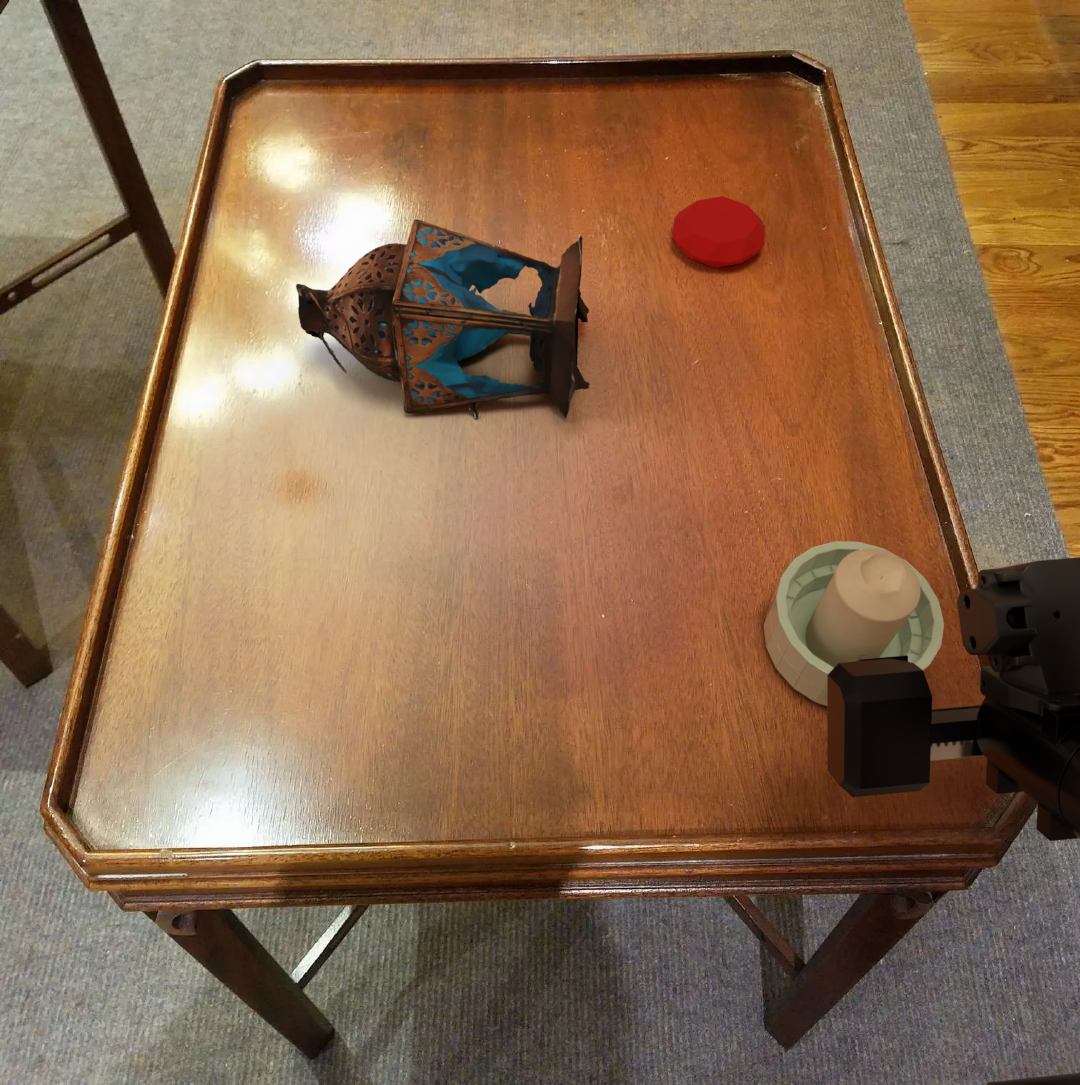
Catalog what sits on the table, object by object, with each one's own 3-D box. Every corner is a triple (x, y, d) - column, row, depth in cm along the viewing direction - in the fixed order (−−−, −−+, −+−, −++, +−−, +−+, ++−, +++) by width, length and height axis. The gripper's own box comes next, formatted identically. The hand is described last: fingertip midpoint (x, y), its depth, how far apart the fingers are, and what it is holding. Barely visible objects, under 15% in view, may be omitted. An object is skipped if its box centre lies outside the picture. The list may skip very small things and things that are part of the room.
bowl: (932, 715, 65) (959, 687, 61) (771, 711, 65) (786, 683, 61) (903, 577, 71) (925, 542, 67) (755, 573, 71) (769, 539, 67)
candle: (871, 686, 66) (919, 622, 57) (796, 658, 67) (832, 591, 58) (887, 623, 68) (936, 553, 60) (815, 597, 69) (852, 525, 61)
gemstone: (713, 287, 88) (718, 263, 86) (653, 238, 92) (656, 213, 90) (780, 249, 91) (786, 224, 89) (718, 203, 95) (723, 178, 92)
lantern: (580, 411, 88) (321, 394, 88) (594, 234, 84) (320, 215, 83) (588, 442, 73) (273, 422, 72) (606, 227, 68) (269, 204, 68)
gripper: (1371, 576, 36) (1107, 505, 51) (906, 616, 35) (778, 532, 50) (1335, 832, 38) (1093, 692, 54) (900, 875, 38) (780, 720, 53)
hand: (940, 656), depth 52 cm, fingers open, 9 cm apart
